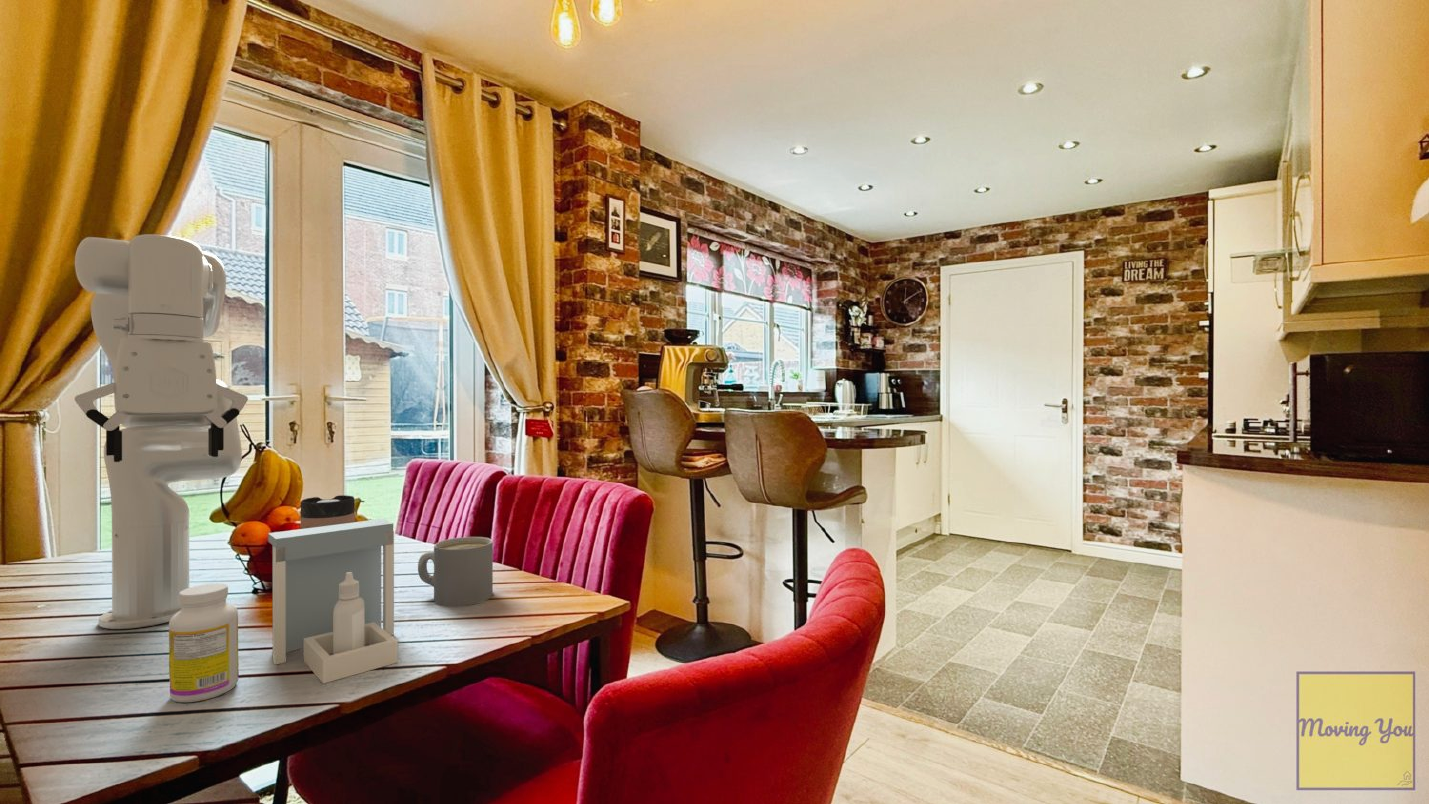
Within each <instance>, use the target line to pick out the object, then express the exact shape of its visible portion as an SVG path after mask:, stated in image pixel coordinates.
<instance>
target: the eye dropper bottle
mask: <svg viewBox="0 0 1429 804" xmlns="http://www.w3.org/2000/svg"><path fill="white" fill-rule="evenodd" d="M358 596H359V581H357V580H354V579H353V574H352V572H348V573H346V577H345V580H344V581H343V582H341V583H340V584H339V599H340V600H339V601H338V602H337V603H336V605H335V607H334V611H333V655H334V654H338V653H342V652H346V651H350V650H354V649H358V648H361V647H365V620H364V600H363V599H362V598H361V597H358Z"/></svg>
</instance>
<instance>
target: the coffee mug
mask: <svg viewBox="0 0 1429 804" xmlns="http://www.w3.org/2000/svg"><path fill="white" fill-rule="evenodd" d="M493 547H494V546H493V539H491V538H490V537H484V536H464V537H463V536H462V537H455V538H447V539H444V540H440V541H438V542H436V543H435V544H434V546H433V550H430V551H427V552H424V553H423V554H422V555H421V556H420V557H419V559H418V563H417V564H418V565H417V571H418V577H419V578H420V580H421V581H422V582H424V584H427V585H429V586H431V587H433V602H434V604H436V605H439V606H442V607H452V608H454V607H466V606H472V605H476V604H480V603H483V602H485V601H487V600H490V599H491V598H492V597H493V595H494V594H493V591H494V590H493V587H494V586H493V582H494V581H493V580H494V579H493V577H494V575H493V571H494V569H493V564H494V563H493V562H494V561H493V560H494V557H493V556H494V555H493V552H494V551H493V549H494V548H493ZM429 560H431V561H432V562H433V575H431V574H430V573H429V571H428V568H427V567H428V565H427V564H428V561H429Z"/></svg>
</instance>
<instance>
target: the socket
mask: <svg viewBox="0 0 1429 804" xmlns="http://www.w3.org/2000/svg"><path fill="white" fill-rule="evenodd" d="M303 661H304V663H305V664H306V665H307V666H308V667H309V669H310V668H311V672H313V674H314V675H315V676H316V677H317V678H318V679H319V681H320V682H321V683H322V684H326V683H330V682H333V681H337V680H340V679H344V678H348V677H351V676H355V675H358V674H361V673H366V672H368V671H369V672H370V671H372V670H376V669H379V668H383V667H386V666H390V665H394V664H396V663H397V664H398V663H399V640H398V639H396V638H395V637H394V636H393V635H390V634H389V633H387V632H386V631H385V630H384V629H383V627H382V626H381V627H380V626H379V625H377V624H376V623H375V622H372V623H368V624H365V647H361V648H358V649H354V650H350V651H346V652H342V653H338V654H334V655H333V632H329V633H325V634H321V635H317V636H312V637H308V638H304V648H303Z"/></svg>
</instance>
